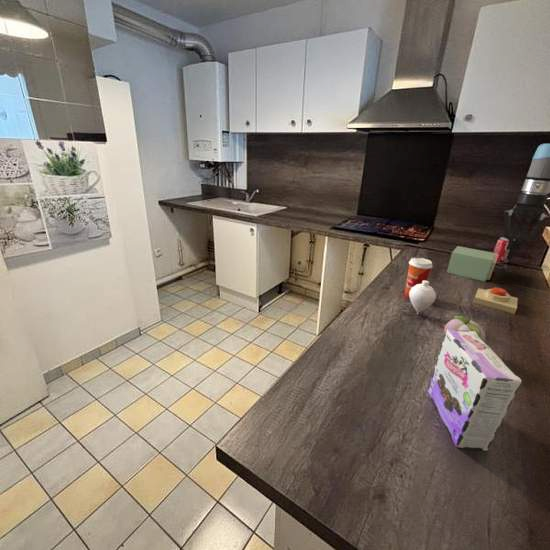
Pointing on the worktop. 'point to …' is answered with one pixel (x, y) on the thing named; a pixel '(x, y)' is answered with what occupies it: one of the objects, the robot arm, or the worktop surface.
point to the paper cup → (417, 273)
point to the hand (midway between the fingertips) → (509, 258)
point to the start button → (498, 291)
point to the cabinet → (470, 263)
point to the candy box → (471, 389)
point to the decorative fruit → (465, 326)
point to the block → (496, 300)
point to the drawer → (495, 267)
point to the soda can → (501, 250)
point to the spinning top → (422, 296)
